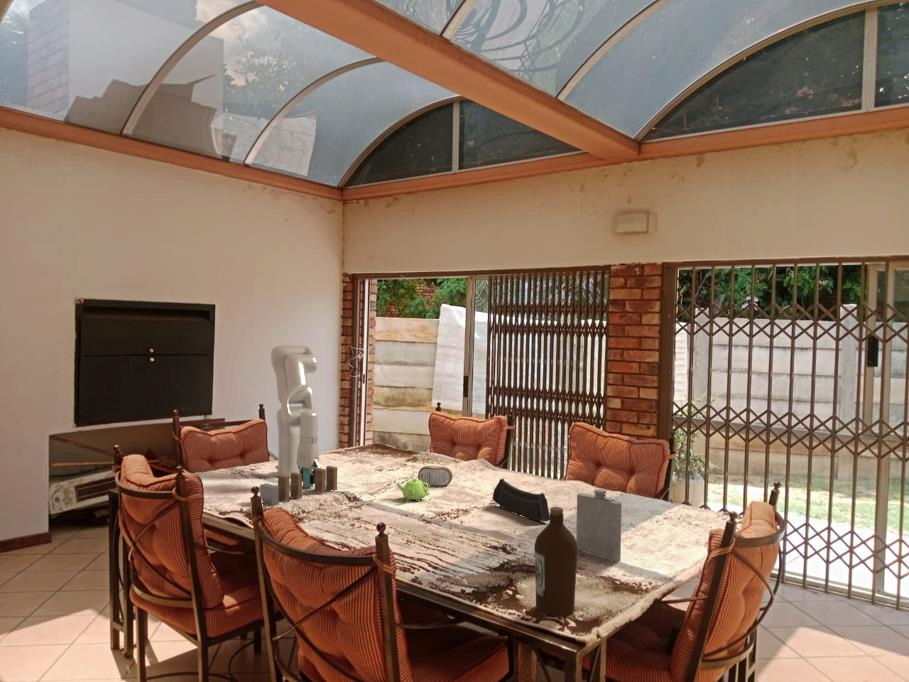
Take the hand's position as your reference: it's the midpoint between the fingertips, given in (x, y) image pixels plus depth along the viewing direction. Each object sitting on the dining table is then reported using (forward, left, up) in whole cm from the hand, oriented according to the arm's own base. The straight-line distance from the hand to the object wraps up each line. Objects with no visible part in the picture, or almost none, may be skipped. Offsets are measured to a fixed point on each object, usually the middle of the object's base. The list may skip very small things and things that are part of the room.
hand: (308, 482), depth 299 cm
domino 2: (+12, -15, -2) cm, 19 cm away
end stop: (+12, -28, -2) cm, 30 cm away
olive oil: (+149, -38, -2) cm, 154 cm away
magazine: (+91, +28, -2) cm, 95 cm away
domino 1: (+12, -21, -2) cm, 24 cm away
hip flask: (+136, +7, -2) cm, 136 cm away
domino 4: (+12, -3, -2) cm, 13 cm away
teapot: (+47, +16, -2) cm, 50 cm away
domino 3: (0, 0, -2) cm, 2 cm away
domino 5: (+12, +3, -2) cm, 13 cm away
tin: (+37, +40, -2) cm, 55 cm away
